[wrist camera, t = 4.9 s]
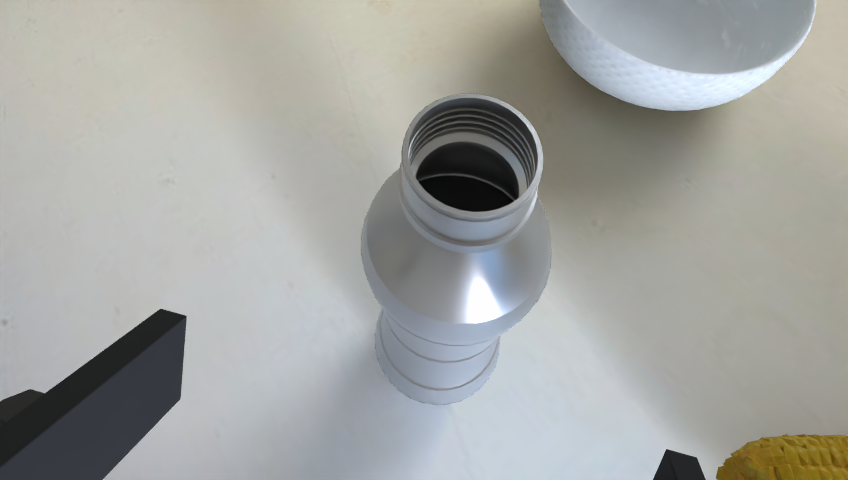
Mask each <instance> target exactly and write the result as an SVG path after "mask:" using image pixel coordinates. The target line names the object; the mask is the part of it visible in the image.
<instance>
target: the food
mask: <svg viewBox="0 0 848 480" xmlns="http://www.w3.org/2000/svg"><path fill="white" fill-rule="evenodd" d="M731 455H732V457H730V458H728V459H726V460H725V462H724V464H723V465H724V466H722V467H718V471H717V475H716V478H717V480H848V436H843V435H828V436H820V435H805V434H803V435H793V436H788V435H787V434H786V435H783V436H778V437H768V438H760V440H757V441H753V442H749V443H747V444H745V445H744V446H743V447H742V448H741V449H739V450H737V451H736V452H734V453H732V454H731Z"/></svg>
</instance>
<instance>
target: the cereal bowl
mask: <svg viewBox="0 0 848 480" xmlns="http://www.w3.org/2000/svg"><path fill="white" fill-rule="evenodd" d="M539 6H540V9H541V17H542V19H543V22H544V26H545V28H546V30H547V34H548V36H549V37H550V39H551V41H552V44H553V45H554V46H555V48H556V50H557V51H558V53H559V54H560V55H561V56H562V58H563V59H564V60H565V61H566V63H568V65H570V67H571V68H572V69H573V70H574V71H576V73H577V74H579V75H580V76H581V77H582V78H584V79H585V80H586V81H587V82H588V83H590V84H591V85H593V86H595V87H596V88H598V89H599V90H602V91H603V92H605V93H607V94H609V95H610V96H614V97H616V98H618V99H621V100H622V101H624V102H629V103H631V104H635V105H637V106H643V107H646V108H651V109H659V110H668V111H671V110H672V111H678V110H680V111H681V110H684V111H687V110H700V109H702V108H708V107H715V106H717V105H719V104H725V103H727V102H729V101H731V100H734V99H738V98H739V97H741V96H742V95H745V94H747V93H749V92H750V91H751V90H753V89H754V88H757V87H758V86H759V85H761V84H762V83H763V82H765V81H767V80H768V79H769V78H770V77H771V76H772V75H773V74H774V73H776V72H777V71H778V70H779V68H780V67H781V66H783V65H784V64H785V63H786V62H787V61H788V59H789V58H790V57H791V56H793V54H794V53H795V52H796V50H797V49H798V48H799V47H800V46H801V45H802V43H803V42H804V40H805V38H806V36H807V34H808V33H809V30H810V28H811V25H812V22H813V19H814V15H815V10H816V0H540V3H539Z"/></svg>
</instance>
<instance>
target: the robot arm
mask: <svg viewBox="0 0 848 480" xmlns="http://www.w3.org/2000/svg"><path fill="white" fill-rule="evenodd" d="M186 317H187V316H185V315H181V314H178V313H174V312H170V311H167V310H163V309H160V310H158V311H157V312H156V313H154V314H153V315H151V316H150V317H149V318H147V319H146V320H145V321H143V322H142V323H141V324H139V325H138V326H136V327H135V328H134V329H132V330H131V331H130V332H128V333H127V334H126V335H124V336H123V337H121V338H120V339H119V340H117V341H116V342H115V343H113V344H112V345H111V346H109V347H108V348H106V349H105V350H104V351H102V352H101V353H100V354H98V355H97V356H96V357H94V358H93V359H91V360H90V361H89V362H87V363H86V364H85V365H83V366H82V367H80V368H79V369H78V370H76V371H75V372H74V373H72V374H71V375H70V376H68V377H67V378H65V379H64V380H63V381H61V382H60V383H59V384H57V385H56V386H55V387H53V388H52V389H50V390H49V391H48V392H46V393H41V392H38V391H34V390H31V389H29V390H27V391H24V392H22V393H19V394H17V395H14V396H11V397H9V398H6V399H4V400H2V401H1V402H0V480H102V479H103V478H104V477H105V476H106V475H107V474H108V473H109V472H110V471H111V470H112V469H113V468H114V467H115V466H116V465H117V464H118V463H119V462H120V461H121V460H122V459H123V458H124V457H125V456H126V455H127V454H128V453H129V452H130V450H131V449H132V448H133V447H134V446H135V445H136V444H137V443H138V442H139V441H140V440H141V439H142V438H143V437H144V436H145V435H146V434H147V433H148V432H149V431H150V430H151V429H152V428H153V427H154V426H155V425H156V424H157V423H158V422H159V420H160V419H161V418H162V417H163V416H164V415H165V414H166V413H167V412H168V411H169V410H170V409H171V408H172V407H173V406H174V405H175V404H176V403H177V402H178V401H179V400H180V397H181V384H182V370H183V357H184V344H185V330H186ZM653 480H706V479H705V477H704V474H703V472H702V470H701V467H700V465H699V462H698V460H697V458H696V457H693V456H689V455H685V454H682V453H678V452H675V451H671V450H667V449H666V451H665V454H664V456H663V458H662V461H661V463H660V465H659V467H658V470H657V472H656V474H655V477H654V479H653Z"/></svg>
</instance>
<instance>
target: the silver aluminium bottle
mask: <svg viewBox="0 0 848 480" xmlns="http://www.w3.org/2000/svg"><path fill="white" fill-rule="evenodd" d="M542 169H543V152H542V146H541V143H540V140H539V137H538V135H537V133H536V131H535V129H534V128H533V126H532V125H531V123H530V122H529V121H528V120H527V119H526V118H525V117H524V116H523V114H522V113H520V112H519V111H518V110H516V109H515V108H514V107H512V106H511V105H509V104H507V103H505V102H503V101H501V100H499V99H496V98H493V97H490V96H487V95H480V94H456V95H451V96H447V97H444V98H441V99H439V100H436V101H435V102H433V103H431V104H430V105H428V106H426V107H425V108H424V109H423V110H422V111H421V112H419V113H418V114H417V115H416V117H415V118H414V119H413V121H412V122H411V124H410V125H409V128H408V130H407V132H406V135H405V138H404V141H403V147H402V162H401V164H400V168H399V169H398V170H397V171H396V172H395V173H393V174H392V175H391V176H390V177H389V178H388V179H387V180H386V181H385V183H384V184H383V186H382V187H381V188H380V190H379V191H378V193H377V194H376V196H375V198H374V200H373V201H372V203H371V205H370V208H369V210H368V212H367V215H366V217H365V219H364V224H363V229H362V234H361V256H362V261H363V266H364V270H365V274H366V276H367V280H368V282H369V285H370V287H371V289H372V291H373V294H374V296H375V298H376V299H377V301H378V302H379V304H380V305H381V307H382V309H381V312H380V314H379V317H378V321H377V325H376V331H375V349H376V353H377V358H378V361H379V363H380V366H381V368H382V370H383V372H384V374H385V375H386V377H387V378H388V380H389V381H390V382H391V383H392V384H393V385H394V386H395V387H396V388H397V389H398V390H399V391H400V392H402V393H403V394H405V395H406V396H408V397H409V398H411V399H414V400H417V401H419V402H422V403H427V404H432V405H446V404H451V403H455V402H459V401H462V400H464V399H466V398H468V397H470V396H472V395H473V394H474V393H475V392H477V391H478V390H479V389H480V388H481V387H482V386H483V385H484V384H485V383H486V381H487V380H488V379H489V377H490V376H491V374H492V372H493V370H494V368H495V365H496V362H497V358H498V355H499V345H500V335H502V334H503V333H505V332H507V331H508V330H509V329H511V328H512V327H513V326H515V325H516V324H517V323H518V322H520V321H521V320H522V318H523V317H524V316H525V315H526V314H527V313H528V312H529V311H530V310H531V308H532V307H533V306H534V305H535V304H536V302H537V301H538V300H539V298H540V296H541V294H542V292H543V290H544V288H545V286H546V284H547V280H548V276H549V273H550V269H551V258H552V245H551V237H550V230H549V224H548V219H547V217H546V214H545V211H544V208H543V206H542V204H541V202H540V200H539V199H538V197H537V188H538V186H539V183H540V179H541V176H542Z"/></svg>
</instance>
